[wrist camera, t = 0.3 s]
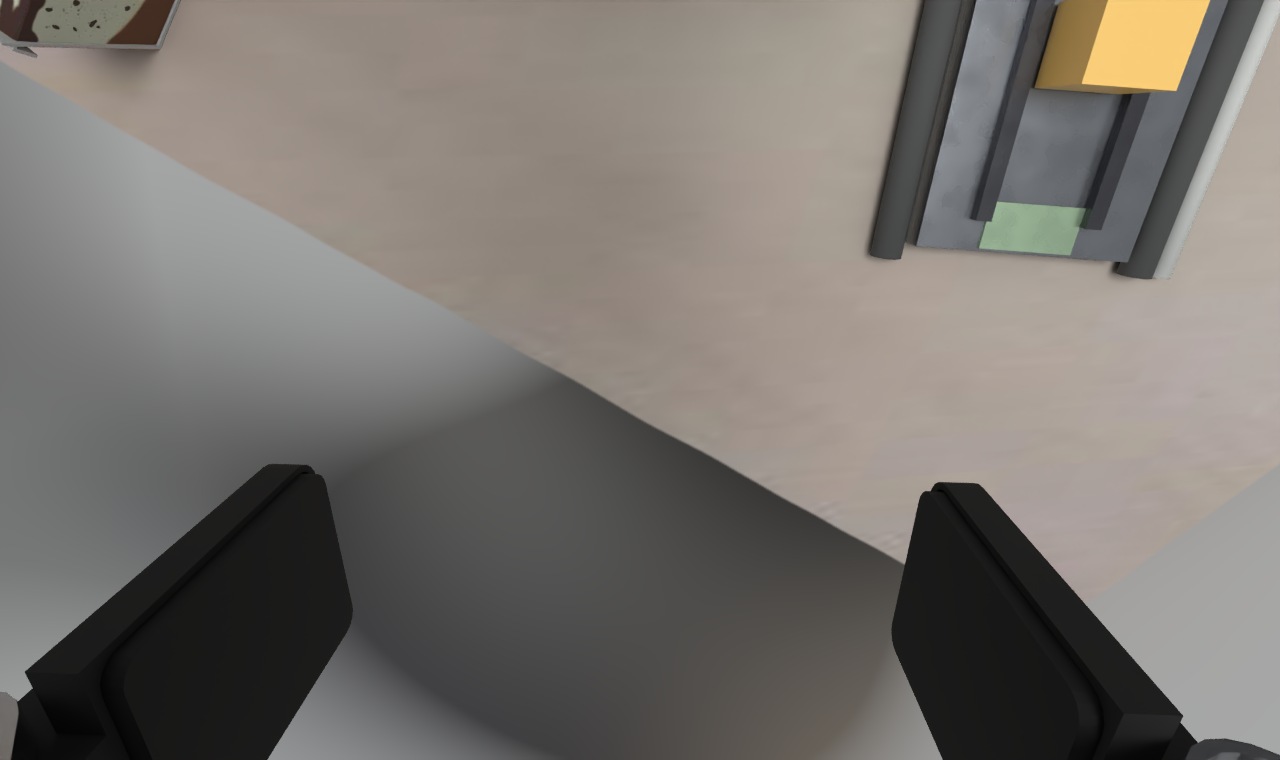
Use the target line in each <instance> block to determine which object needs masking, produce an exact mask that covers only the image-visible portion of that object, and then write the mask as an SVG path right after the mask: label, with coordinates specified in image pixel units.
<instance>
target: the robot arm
mask: <svg viewBox="0 0 1280 760" xmlns="http://www.w3.org/2000/svg"><path fill="white" fill-rule="evenodd" d="M352 613H353V608H352V602H351V597H350V593H349V588H348V584H347V579H346V574H345V570H344V566H343V561H342V556H341V552H340V548H339V543H338V538H337V533H336V529H335V525H334V520H333V515H332V511H331V506H330V502H329V497H328V493H327V488H326V483H325V481H324V479H323V478H322V476H321V475H318V474H315V472H314V470H313V469H312V468H311V467H309V466H308V465H291V464H290V465H289V464H269V465H267V466H265V467H263V468H262V469H261V470H260V471H259V472H258V473H256V474H255V475H254V476H253V477H252V478H250V479H249V480H248V481H247V482H246V483H245V484H243V485H242V486H241V487H240V488H239V489H238V490H236V491H235V492H234V493H233V494H232V495H231V496H229V497H228V498H227V499H226V500H225V501H224V502H222V503H221V504H220V505H219V506H218V507H217V508H215V509H214V510H213V511H212V512H211V513H210V514H208V515H207V516H206V517H205V518H204V519H203V520H201V521H200V522H199V523H198V524H197V525H196V526H194V527H193V528H192V529H191V530H190V531H189V532H187V533H186V534H185V535H184V536H183V537H182V538H181V539H179V540H178V541H177V542H176V543H175V544H173V545H172V546H171V547H170V548H169V549H168V550H166V551H165V552H164V553H163V554H162V555H161V556H159V557H158V558H157V559H156V560H155V561H154V562H153V563H151V564H150V565H149V566H148V567H147V568H145V569H144V570H143V571H142V572H141V573H140V574H139V575H137V576H136V577H135V578H134V579H133V580H131V581H130V582H129V583H128V584H127V585H126V586H124V587H123V588H122V589H121V590H120V591H119V592H117V593H116V594H115V595H114V596H113V597H112V598H110V599H109V600H108V601H107V602H106V603H105V604H103V605H102V606H101V607H100V608H99V609H98V610H96V611H95V612H94V613H93V614H92V615H91V616H89V617H88V618H87V619H86V620H85V621H84V622H82V623H81V624H80V625H79V626H78V627H77V628H75V629H74V630H73V631H72V632H71V633H70V634H68V635H67V636H66V637H65V638H64V639H63V640H61V641H60V642H59V643H58V644H57V645H56V646H54V647H53V648H52V649H51V650H50V651H49V652H47V653H46V654H45V655H44V656H43V657H42V658H40V659H39V660H38V661H37V662H36V663H35V664H33V665H32V666H31V667H30V668H29V669H28V670H26V671H25V673H26V675H27V677H28V679H29V681H30V683H31V685H32V687H33V689H32V690H30V691H29V692H28V693H27V694H26V695H25V696H24V697H23V698H21V699H20V700H19V701H18V702H17V700H16V699H15V698H13V697H12V696H10V695H9V694H8V693H6V692H0V760H267V759H268V758H269V756H270V754H271V753H272V751H273V749H274V748H275V746H276V745H277V743H278V742H279V740H280V738H281V737H282V735H283V733H284V732H285V730H286V729H287V727H288V725H289V724H290V722H291V721H292V719H293V718H294V716H295V714H296V713H297V711H298V710H299V708H300V706H301V705H302V703H303V701H304V700H305V698H306V697H307V695H308V694H309V692H310V690H311V689H312V687H313V685H314V684H315V682H316V681H317V679H318V677H319V676H320V674H321V673H322V671H323V670H324V668H325V666H326V665H327V663H328V662H329V660H330V658H331V657H332V655H333V653H334V652H335V650H336V649H337V647H338V645H339V644H340V642H341V641H342V639H343V637H344V636H345V634H346V633H347V631H348V628H349V627H350V624H351V620H352ZM892 641H893V646H894V649H895V652H896V654H897V656H898V658H899V661H900V663H901V665H902V668H903V670H904V672H905V674H906V677H907V679H908V681H909V684H910V686H911V688H912V690H913V693H914V695H915V697H916V700H917V702H918V704H919V706H920V709H921V711H922V713H923V716H924V718H925V720H926V722H927V725H928V727H929V729H930V731H931V734H932V736H933V738H934V740H935V743H936V745H937V747H938V750H939V752H940V754H941V756H942V759H943V760H1280V755H1279V754H1276V753H1273V752H1271V751H1268V750H1266V749H1263V748H1261V747H1258V746H1255V745H1252V744H1249V743H1244V742H1239V741H1235V740H1230V739H1205V740H1203V741H1201V742H1199V743H1198V742H1197V741H1196V740H1195V739H1194V738H1193V737H1192V736H1191V734H1190V733H1189V732H1188V731H1187V730H1186V729H1185V727H1184V726H1183V725H1182V724H1181V723H1180V721H1181V719H1182V717H1183V715H1182V714H1181V713H1180V712H1179V711H1178V709H1177V708H1176V707H1175V706H1174V705H1173V704H1172V703H1171V702H1170V700H1169V699H1168V698H1167V697H1166V696H1165V695H1164V694H1163V692H1162V691H1161V690H1160V689H1159V688H1158V687H1157V686H1156V684H1154V682H1153V681H1152V680H1151V679H1150V678H1149V676H1148V675H1147V674H1146V673H1145V672H1144V671H1143V670H1142V669H1141V667H1140V666H1139V665H1138V664H1137V663H1136V662H1135V661H1134V659H1133V658H1132V657H1131V656H1130V655H1129V654H1128V653H1127V652H1126V650H1125V649H1124V648H1123V647H1122V646H1121V645H1120V643H1119V642H1118V641H1117V640H1116V639H1115V638H1114V637H1113V635H1112V634H1111V633H1110V632H1109V631H1108V630H1107V629H1106V627H1105V626H1104V625H1103V624H1102V623H1101V622H1100V621H1099V619H1098V618H1097V617H1096V616H1095V615H1094V614H1093V613H1092V611H1091V610H1090V609H1089V608H1088V607H1087V606H1086V605H1085V603H1084V602H1083V601H1082V600H1081V599H1080V598H1079V597H1078V596H1077V594H1076V593H1075V592H1074V591H1073V590H1072V589H1071V588H1070V586H1069V585H1068V584H1067V583H1066V582H1065V581H1064V580H1063V578H1062V577H1061V576H1060V575H1059V574H1058V573H1057V572H1056V570H1055V569H1054V568H1053V567H1052V566H1051V565H1050V564H1049V562H1048V561H1047V560H1046V559H1045V558H1044V557H1043V556H1042V554H1041V553H1040V552H1039V551H1038V550H1037V549H1036V548H1035V547H1034V545H1033V544H1032V543H1031V542H1030V541H1029V540H1028V539H1027V537H1026V536H1025V535H1024V534H1023V533H1022V532H1021V531H1020V529H1019V528H1018V527H1017V526H1016V525H1015V524H1014V523H1013V521H1012V520H1011V519H1010V518H1009V517H1008V516H1007V515H1006V513H1005V512H1004V511H1003V510H1002V509H1001V508H1000V507H999V505H998V504H997V503H996V502H995V501H994V500H993V499H992V497H991V496H990V495H989V494H988V493H987V492H986V491H985V490H984V488H983V487H981V486H980V485H979V484H976V483H950V482H938V483H936V484H935V485H934V486H933V488H932V490H931V491H925V492H923V493H922V495H921V496H920V499H919V503H918V508H917V512H916V517H915V522H914V526H913V531H912V535H911V540H910V544H909V549H908V554H907V558H906V563H905V567H904V572H903V577H902V581H901V586H900V590H899V595H898V600H897V605H896V609H895V613H894V618H893V622H892Z"/></svg>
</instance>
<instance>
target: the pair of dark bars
mask: <svg viewBox="0 0 1280 760" xmlns="http://www.w3.org/2000/svg"><path fill="white" fill-rule="evenodd" d="M961 3H962V0H925V4H924V9H923V13H922V18H921V23H920V27H919V32H918V36H917V41H916V46H915V50H914V55H913V59H912V64H911V69H910V73H909V78H908V82H907V87H906V92H905V96H904V101H903V105H902V110H901V115H900V119H899V124H898V128H897V133H896V138H895V142H894V147H893V151H892V156H891V161H890V165H889V170H888V174H887V179H886V184H885V188H884V193H883V197H882V202H881V207H880V211H879V216H878V221H877V225H876V230H875V234H874V239H873V244H872V248H871V253H870V255H871V256H874V257H878V258H883V259H892V260H897V259H901V256H902V252H903V247H904V243H905V239H906V235H907V231H908V226H909V222H910V218H911V214H912V209H913V205H914V201H915V197H916V193H917V188H918V184H919V180H920V176H921V172H922V167H923V163H924V159H925V155H926V151H927V146H928V142H929V138H930V134H931V129H932V125H933V121H934V117H935V113H936V108H937V104H938V100H939V96H940V92H941V87H942V83H943V79H944V75H945V70H946V66H947V62H948V58H949V54H950V49H951V45H952V41H953V37H954V33H955V28H956V24H957V20H958V16H959V12H960V7H961ZM1279 15H1280V0H1228V2H1227V5H1226V8H1225V10H1224V13H1223V15H1222V18H1221V21H1220V23H1219V26H1218V28H1217V31H1216V34H1215V36H1214V39H1213V41H1212V44H1211V47H1210V49H1209V52H1208V54H1207V57H1206V60H1205V62H1204V65H1203V67H1202V70H1201V73H1200V75H1199V78H1198V81H1197V83H1196V86H1195V88H1194V91H1193V94H1192V96H1191V99H1190V101H1189V104H1188V107H1187V109H1186V112H1185V114H1184V117H1183V120H1182V122H1181V125H1180V127H1179V130H1178V133H1177V135H1176V138H1175V140H1174V143H1173V146H1172V148H1171V151H1170V153H1169V156H1168V159H1167V161H1166V164H1165V167H1164V169H1163V172H1162V174H1161V177H1160V180H1159V182H1158V185H1157V187H1156V190H1155V193H1154V195H1153V198H1152V200H1151V203H1150V206H1149V208H1148V211H1147V213H1146V216H1145V219H1144V221H1143V224H1142V226H1141V229H1140V232H1139V234H1138V237H1137V239H1136V242H1135V245H1134V247H1133V250H1132V253H1131V255H1130V258H1129V260H1128V262H1120V264H1119V267H1118V269H1117V272H1116V273H1117V274H1120V275H1123V276H1127V277H1133V278H1139V279H1152V277H1154V278H1160V279H1170V277H1171V275H1172V272H1173V270H1174V267H1175V265H1176V263H1177V260H1178V258H1179V255H1180V253H1181V251H1182V248H1183V246H1184V243H1185V241H1186V239H1187V236H1188V234H1189V231H1190V229H1191V226H1192V224H1193V222H1194V219H1195V217H1196V214H1197V212H1198V210H1199V207H1200V205H1201V202H1202V200H1203V198H1204V195H1205V193H1206V190H1207V188H1208V186H1209V183H1210V181H1211V178H1212V176H1213V173H1214V171H1215V169H1216V166H1217V164H1218V161H1219V159H1220V157H1221V154H1222V152H1223V149H1224V147H1225V145H1226V142H1227V140H1228V137H1229V135H1230V133H1231V130H1232V128H1233V125H1234V123H1235V120H1236V118H1237V116H1238V113H1239V111H1240V108H1241V106H1242V104H1243V101H1244V99H1245V96H1246V94H1247V92H1248V89H1249V87H1250V84H1251V82H1252V80H1253V77H1254V75H1255V72H1256V70H1257V67H1258V65H1259V63H1260V60H1261V58H1262V55H1263V53H1264V51H1265V48H1266V46H1267V43H1268V41H1269V39H1270V36H1271V34H1272V31H1273V29H1274V27H1275V24H1276V22H1277V19H1278V17H1279Z"/></svg>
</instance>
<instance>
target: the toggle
mask: <svg viewBox="0 0 1280 760" xmlns="http://www.w3.org/2000/svg"><path fill="white" fill-rule="evenodd" d="M1209 2H1210V0H1066V1H1062V2H1059V5H1058V8H1057V11H1056V15H1055V18H1054V22H1053V25H1052V29H1051V32H1050V36H1049V39H1048V42H1047V46H1046V49H1045V53H1044V56H1043V60H1042V63H1041V66H1040V70H1039V73H1038V77H1037V80H1036V84H1035V87H1034V88H1041V89H1054V90H1067V91H1080V92H1094V93H1107V94H1133V93H1150V92H1167V91H1176V90H1177V88H1178V85H1179V82H1180V80H1181V77H1182V74H1183V72H1184V69H1185V66H1186V64H1187V61H1188V58H1189V56H1190V53H1191V50H1192V48H1193V45H1194V42H1195V40H1196V37H1197V34H1198V32H1199V29H1200V26H1201V24H1202V21H1203V18H1204V16H1205V13H1206V10H1207V8H1208V5H1209Z"/></svg>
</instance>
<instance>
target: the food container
mask: <svg viewBox="0 0 1280 760" xmlns="http://www.w3.org/2000/svg"><path fill="white" fill-rule="evenodd" d="M180 1H181V0H0V44H1V45H6V46H7V47H8V48H10V49H11V50H12V51H15V52H18V53H21V54H25V55H28V56H31V57H35V58H37V56H38V55H37V54H35V53H34V52H33V51H32V50H30V49H29V48H28V47H60V48H110V49H159V50H160V48H161V46H162V43H163V41H164V38H165V36H166V34H167V31H168V29H169V27H170V24H171V22H172V20H173V17H174V15H175V12H176V10H177V8H178V5H179V3H180Z"/></svg>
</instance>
